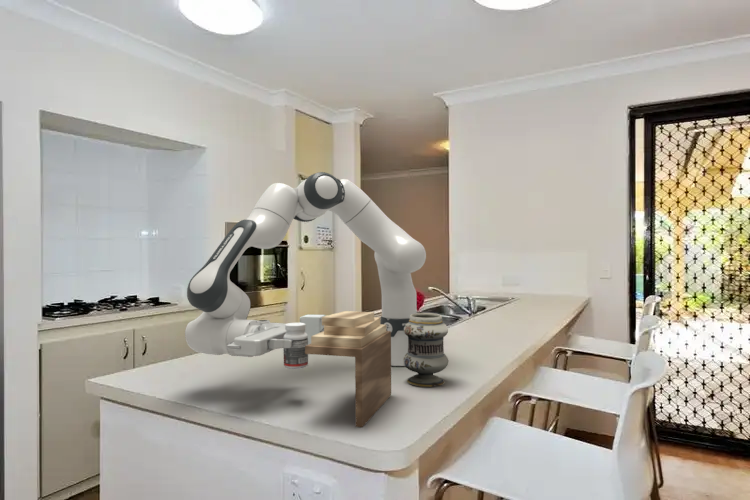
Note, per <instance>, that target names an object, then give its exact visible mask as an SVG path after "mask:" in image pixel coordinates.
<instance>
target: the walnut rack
mask: <svg viewBox="0 0 750 500" xmlns="http://www.w3.org/2000/svg"><path fill="white" fill-rule="evenodd" d="M305 354H308V355H319V356H333V357H351V358H354V359H355V360H354V362H355V363H354V365H355V368H354V369H355V370H354V371H355V372H354V373H355V374H354V376H355V378H354V379H355V381H354V382H355V383H354V385H355V386H354V387H355V394H354V395H355V428H364V426H366V424H367V423H368V422H369V421H370V420H371V418H372V417H373V416H374V415H375V414H376V413H377V412H378V411H379V409H380V408H382V406H383V405H385V403H386V402H387V401H388V399H390V397H391V396H392V365H391V331H386V333H384V334H383V335H381V336H379V337H378V338H376V339H374V340H373V341H371V342H370V343H368V344H366V345H365V346H363V347H361V348H356V347H339V346H322V345H311V344H309V345H307V346H305Z"/></svg>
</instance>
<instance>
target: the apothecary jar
mask: <svg viewBox="0 0 750 500" xmlns="http://www.w3.org/2000/svg"><path fill="white" fill-rule="evenodd" d="M448 332H449V328H448V326H447V324H446V323H444V321H443V316H442V314H438V313H434V312H417V313H415V314H411V315H410V320H409V322H408V323H407V324H406V325H405V326H404V333H405V334H406V335H407V336H408V353H406V355H405V356H404V358H403V363H404V365H405V366H404V367H406V369H407V370H409V371H411V372H414V373H417V374H415V375H413V376H410V377H409V378H407V380H406V383H408V384H409V385H412V386H415V387H421V388H432V387H440V386H442V385H444V384H445V380H444V379H443V378H441V377H439V376H438V375H435V374H436V373H439V372H442V371H444V370H445V369H447V367H448V366H449V358H448V356H447V355H446V354H445V350H444V337H446V336H447V335H448Z"/></svg>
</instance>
